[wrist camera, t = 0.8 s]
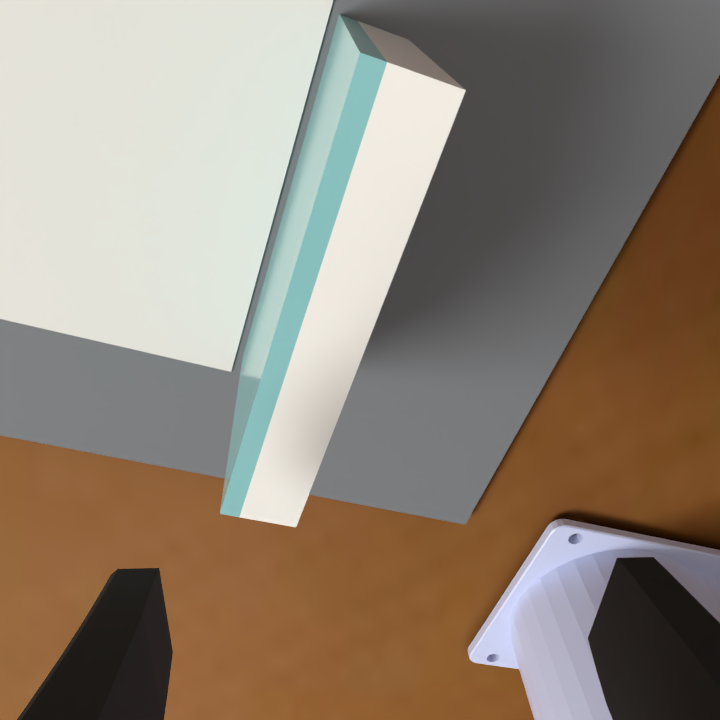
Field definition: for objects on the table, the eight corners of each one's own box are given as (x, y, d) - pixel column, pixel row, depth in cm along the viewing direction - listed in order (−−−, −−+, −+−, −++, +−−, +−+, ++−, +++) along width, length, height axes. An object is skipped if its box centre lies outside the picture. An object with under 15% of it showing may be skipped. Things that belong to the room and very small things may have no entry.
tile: (408, 39, 14) (465, 90, 9) (297, 370, 19) (295, 527, 14) (338, 14, 14) (360, 52, 9) (242, 357, 18) (219, 513, 13)
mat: (788, -68, 14) (802, -68, 14) (462, 516, 23) (465, 525, 23) (-4, -445, 11) (-16, -458, 10) (-35, 419, 19) (-42, 428, 19)
